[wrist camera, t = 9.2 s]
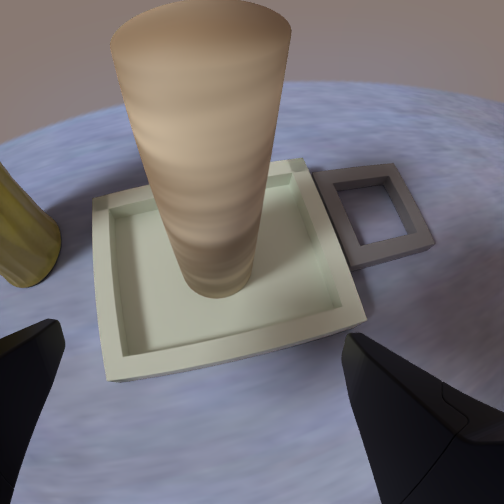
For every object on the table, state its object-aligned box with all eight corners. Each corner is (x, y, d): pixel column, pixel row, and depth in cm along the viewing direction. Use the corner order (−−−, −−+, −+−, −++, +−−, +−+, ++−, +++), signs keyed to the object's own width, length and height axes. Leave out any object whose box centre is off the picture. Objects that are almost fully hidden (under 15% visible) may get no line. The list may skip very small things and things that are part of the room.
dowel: (266, 274, 20) (329, 43, 6) (204, 312, 18) (144, 96, 5) (227, 221, 21) (231, -10, 7) (169, 254, 20) (94, 28, 6)
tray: (353, 327, 19) (367, 320, 17) (120, 382, 17) (107, 381, 15) (297, 176, 24) (302, 157, 22) (102, 214, 22) (92, 198, 20)
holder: (427, 250, 22) (435, 243, 21) (345, 273, 21) (351, 266, 20) (388, 171, 25) (393, 163, 24) (308, 182, 24) (312, 172, 23)
